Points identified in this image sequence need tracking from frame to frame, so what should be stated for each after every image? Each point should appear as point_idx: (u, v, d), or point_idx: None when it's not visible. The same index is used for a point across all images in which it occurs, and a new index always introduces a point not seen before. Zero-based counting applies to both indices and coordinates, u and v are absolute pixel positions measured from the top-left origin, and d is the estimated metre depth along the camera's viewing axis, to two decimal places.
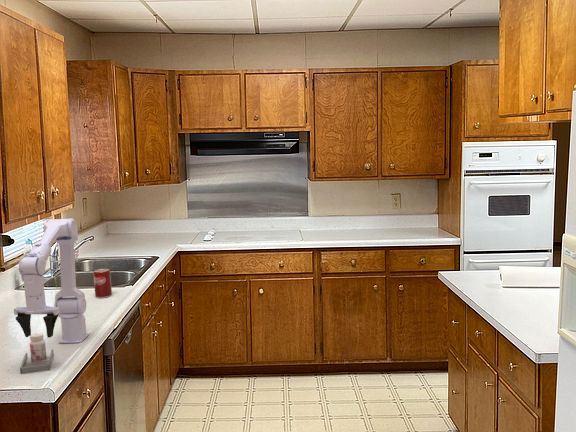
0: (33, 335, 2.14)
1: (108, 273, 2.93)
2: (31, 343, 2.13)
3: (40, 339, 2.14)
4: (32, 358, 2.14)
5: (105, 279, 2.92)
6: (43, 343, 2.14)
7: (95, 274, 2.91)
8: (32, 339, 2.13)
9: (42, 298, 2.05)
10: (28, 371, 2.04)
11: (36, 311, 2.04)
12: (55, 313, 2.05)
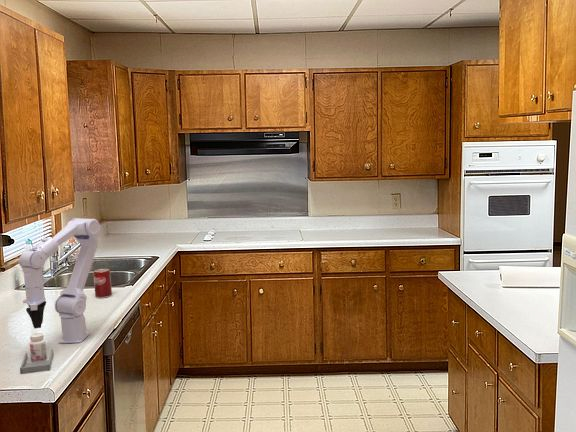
0: (33, 335, 2.14)
1: (108, 273, 2.93)
2: (31, 343, 2.13)
3: (40, 339, 2.14)
4: (32, 358, 2.14)
5: (105, 279, 2.92)
6: (43, 343, 2.14)
7: (95, 274, 2.91)
8: (32, 339, 2.13)
9: (32, 291, 2.17)
10: (28, 371, 2.04)
11: (26, 302, 2.18)
12: (30, 308, 2.13)
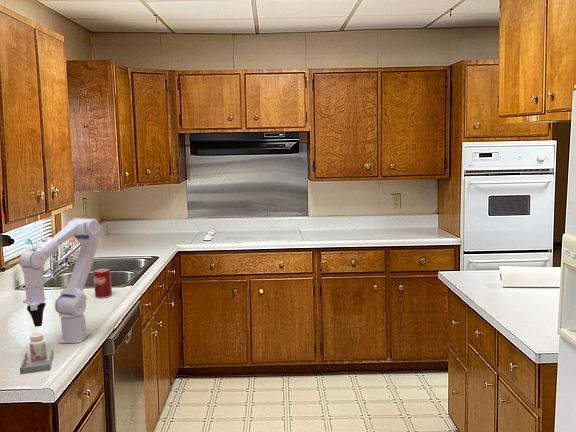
0: (33, 335, 2.14)
1: (108, 273, 2.93)
2: (31, 343, 2.13)
3: (40, 339, 2.14)
4: (32, 358, 2.14)
5: (105, 279, 2.92)
6: (43, 343, 2.14)
7: (95, 274, 2.91)
8: (32, 339, 2.13)
9: (32, 291, 2.17)
10: (28, 371, 2.04)
11: (26, 302, 2.18)
12: (30, 308, 2.13)
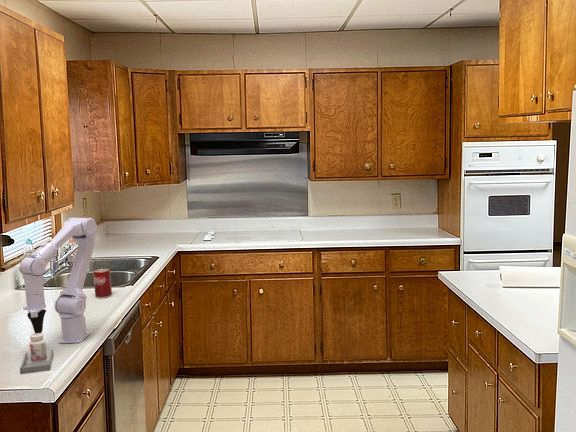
0: (33, 335, 2.14)
1: (108, 273, 2.93)
2: (31, 343, 2.13)
3: (40, 339, 2.14)
4: (32, 358, 2.14)
5: (105, 279, 2.92)
6: (43, 343, 2.14)
7: (95, 274, 2.91)
8: (32, 339, 2.13)
9: (32, 298, 2.16)
10: (28, 371, 2.04)
11: (27, 308, 2.17)
12: (31, 315, 2.13)
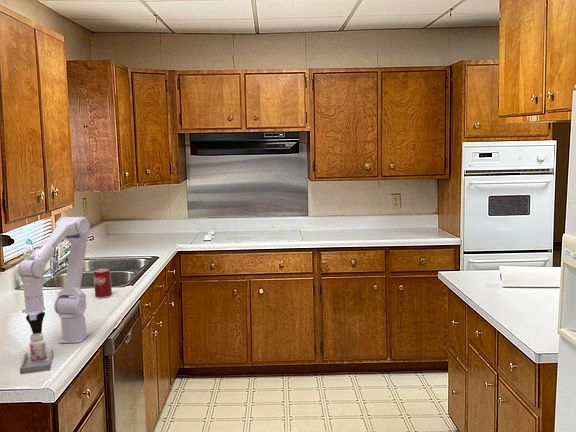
0: (33, 335, 2.14)
1: (108, 273, 2.93)
2: (31, 343, 2.13)
3: (40, 339, 2.14)
4: (32, 358, 2.14)
5: (105, 279, 2.92)
6: (43, 343, 2.14)
7: (95, 274, 2.91)
8: (32, 339, 2.13)
9: (31, 301, 2.13)
10: (28, 371, 2.04)
11: (26, 311, 2.14)
12: (29, 318, 2.09)
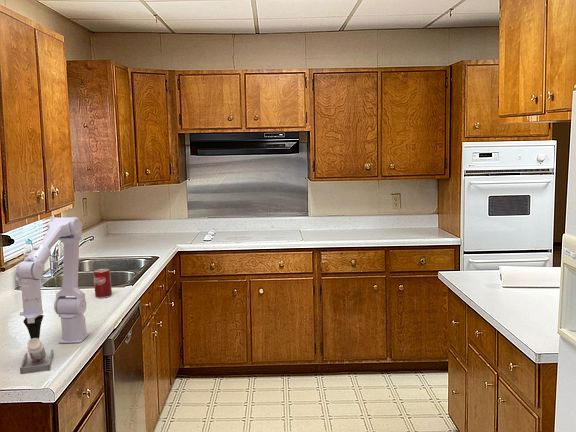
0: (30, 344, 2.08)
1: (108, 273, 2.93)
2: (29, 351, 2.09)
3: (38, 348, 2.09)
4: (31, 358, 2.13)
5: (105, 279, 2.92)
6: (42, 349, 2.10)
7: (95, 274, 2.91)
8: (30, 349, 2.08)
9: (29, 303, 2.08)
10: (28, 371, 2.04)
11: (23, 314, 2.09)
12: (27, 321, 2.05)
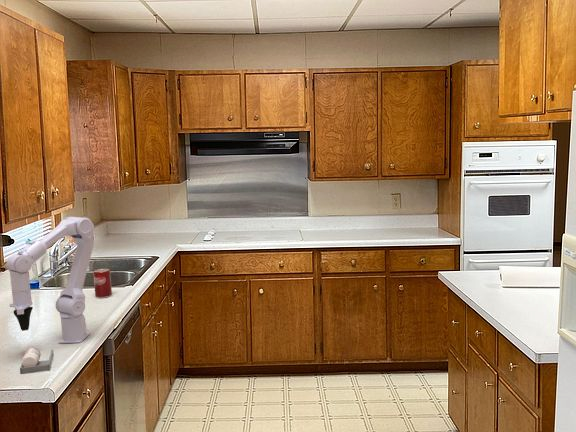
0: (27, 365, 2.05)
1: (108, 273, 2.93)
2: None
3: None
4: None
5: (105, 279, 2.92)
6: (38, 359, 2.08)
7: (95, 274, 2.91)
8: None
9: (18, 295, 2.15)
10: (28, 371, 2.04)
11: (13, 306, 2.17)
12: (17, 312, 2.12)
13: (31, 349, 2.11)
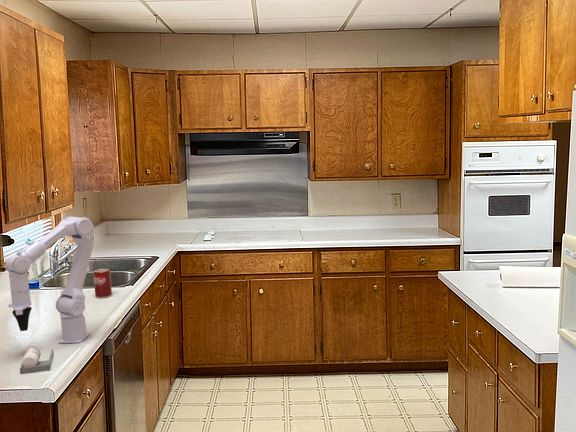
0: (27, 365, 2.05)
1: (108, 273, 2.93)
2: None
3: None
4: None
5: (105, 279, 2.92)
6: (38, 359, 2.08)
7: (95, 274, 2.91)
8: None
9: (17, 296, 2.16)
10: (28, 371, 2.04)
11: (12, 306, 2.17)
12: (15, 313, 2.12)
13: (31, 349, 2.11)
